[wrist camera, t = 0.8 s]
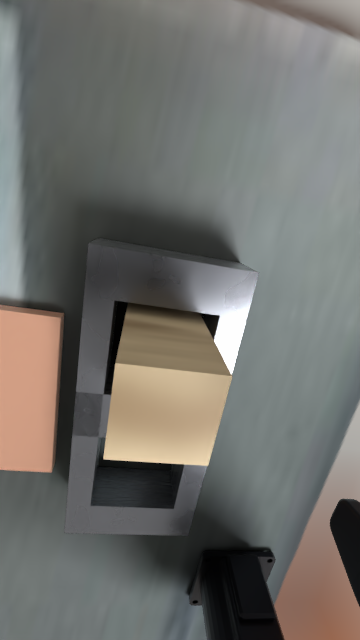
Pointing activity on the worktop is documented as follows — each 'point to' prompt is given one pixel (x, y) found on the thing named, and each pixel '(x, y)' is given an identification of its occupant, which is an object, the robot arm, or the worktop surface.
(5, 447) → the terracotta tile
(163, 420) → the maple peg
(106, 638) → the worktop surface
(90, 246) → the grey slotted holder
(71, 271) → the worktop surface
